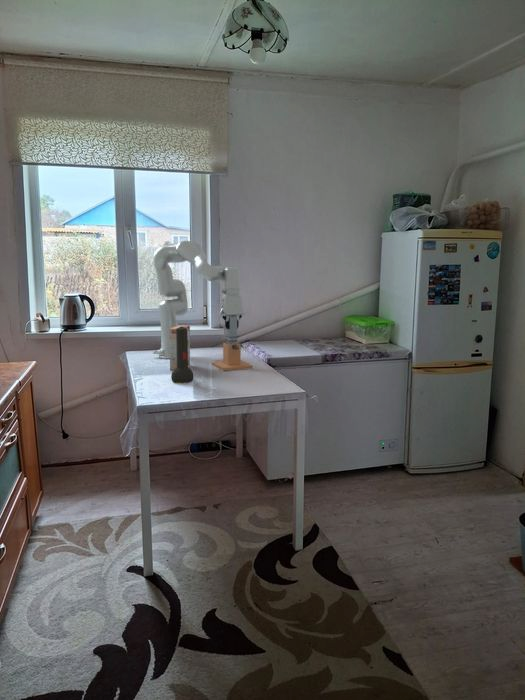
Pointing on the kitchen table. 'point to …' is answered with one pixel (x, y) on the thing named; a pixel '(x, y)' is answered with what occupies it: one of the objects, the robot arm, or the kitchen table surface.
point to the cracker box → (173, 346)
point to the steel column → (232, 330)
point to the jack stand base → (231, 358)
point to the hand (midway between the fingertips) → (231, 328)
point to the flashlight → (182, 358)
